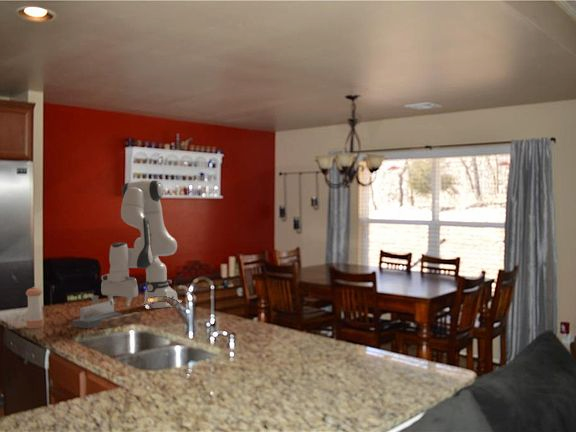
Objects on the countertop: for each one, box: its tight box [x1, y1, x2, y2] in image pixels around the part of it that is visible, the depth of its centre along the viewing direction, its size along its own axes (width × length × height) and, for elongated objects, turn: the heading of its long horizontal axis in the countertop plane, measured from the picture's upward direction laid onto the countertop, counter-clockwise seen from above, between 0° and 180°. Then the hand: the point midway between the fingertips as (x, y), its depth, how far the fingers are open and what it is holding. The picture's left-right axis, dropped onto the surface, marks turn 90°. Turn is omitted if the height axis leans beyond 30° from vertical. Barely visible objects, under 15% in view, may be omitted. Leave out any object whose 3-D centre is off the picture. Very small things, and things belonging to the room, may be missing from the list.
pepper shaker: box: [25, 286, 44, 329], centre depth 263 cm, size 7×7×19 cm
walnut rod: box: [100, 311, 142, 330], centre depth 266 cm, size 20×4×4 cm, turn 144°
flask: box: [91, 295, 100, 305], centre depth 287 cm, size 7×7×10 cm
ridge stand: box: [72, 300, 122, 330], centre depth 269 cm, size 22×10×9 cm, turn 155°
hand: (120, 305), depth 265 cm, fingers open, 8 cm apart
